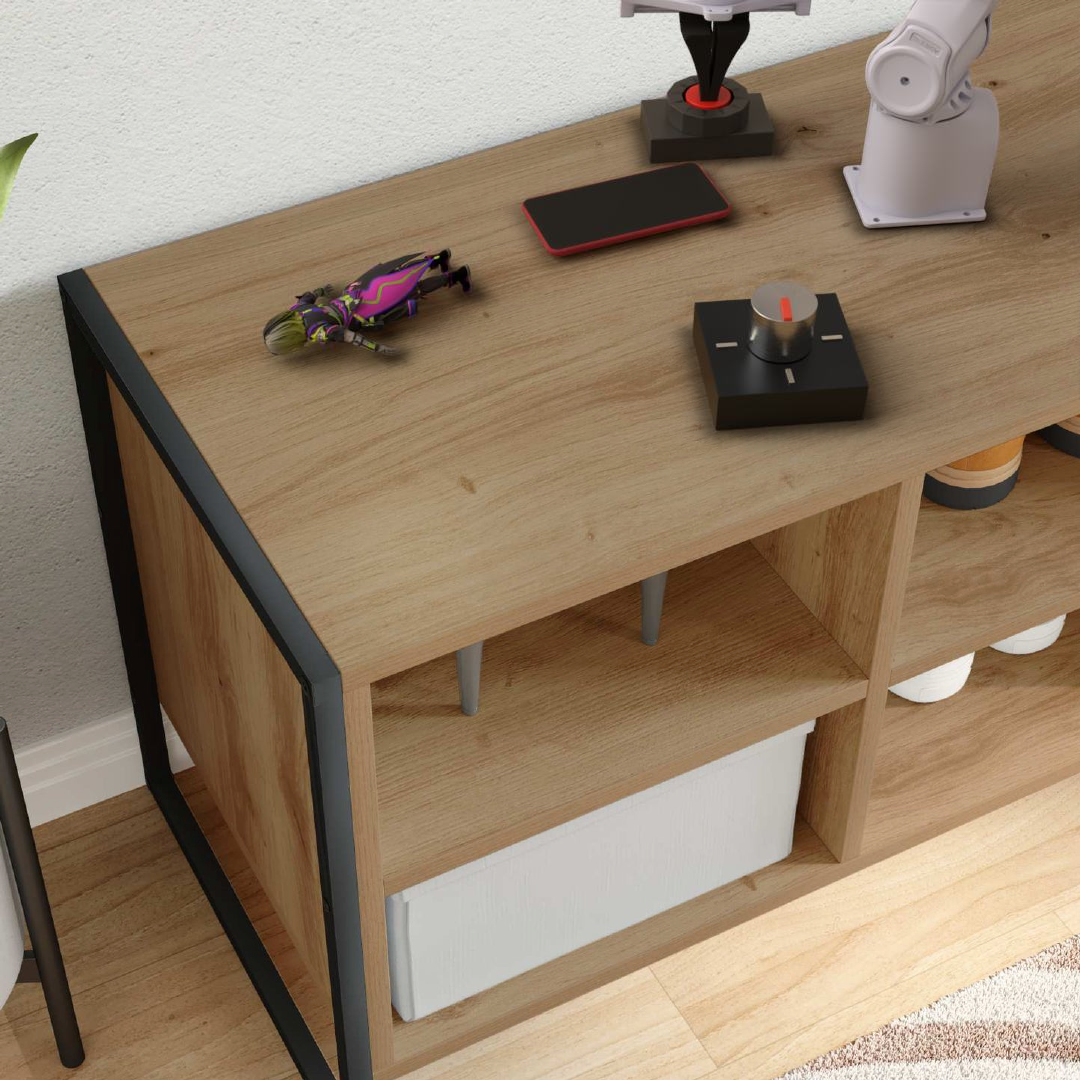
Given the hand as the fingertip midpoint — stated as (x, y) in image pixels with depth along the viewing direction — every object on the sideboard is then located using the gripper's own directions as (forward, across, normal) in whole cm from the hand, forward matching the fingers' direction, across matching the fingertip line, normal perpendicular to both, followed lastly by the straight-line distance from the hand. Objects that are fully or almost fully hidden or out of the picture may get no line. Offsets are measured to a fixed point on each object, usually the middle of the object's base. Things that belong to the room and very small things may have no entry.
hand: (707, 95), depth 126 cm
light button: (+2, 0, 0) cm, 2 cm away
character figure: (+4, -26, -24) cm, 35 cm away
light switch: (+4, 0, 0) cm, 4 cm away
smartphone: (+4, -7, -11) cm, 13 cm away
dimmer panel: (+4, +3, -30) cm, 30 cm away
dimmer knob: (+1, +3, -30) cm, 30 cm away
